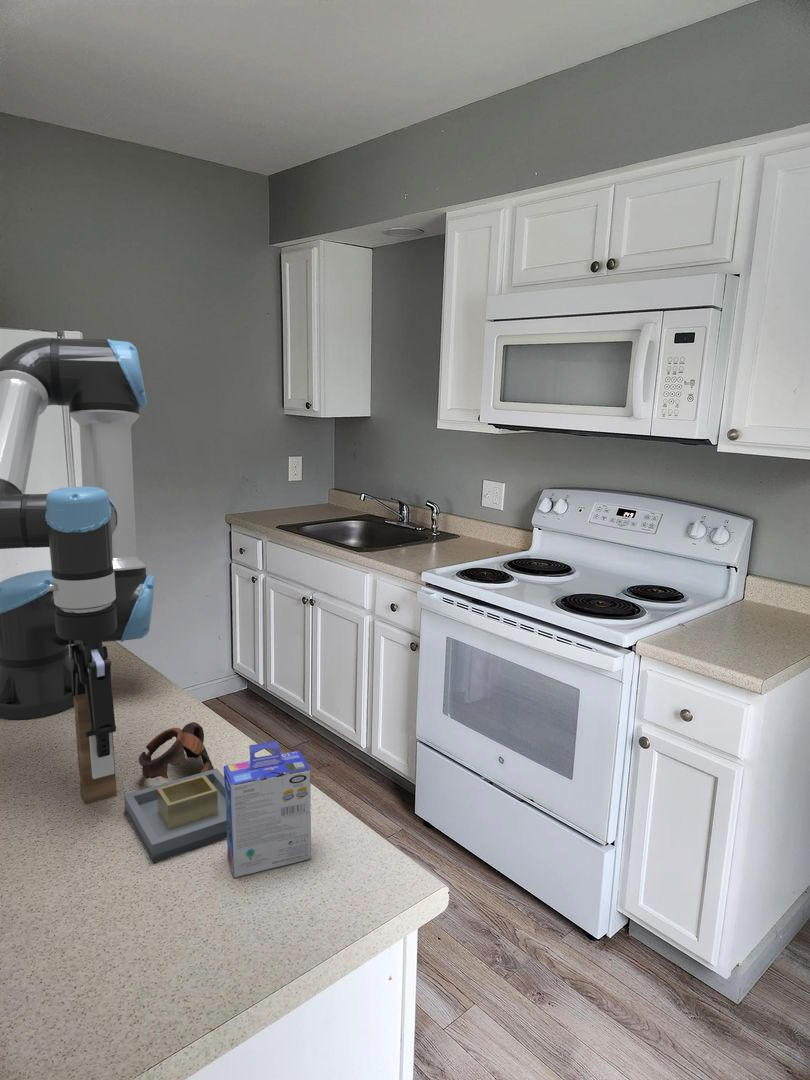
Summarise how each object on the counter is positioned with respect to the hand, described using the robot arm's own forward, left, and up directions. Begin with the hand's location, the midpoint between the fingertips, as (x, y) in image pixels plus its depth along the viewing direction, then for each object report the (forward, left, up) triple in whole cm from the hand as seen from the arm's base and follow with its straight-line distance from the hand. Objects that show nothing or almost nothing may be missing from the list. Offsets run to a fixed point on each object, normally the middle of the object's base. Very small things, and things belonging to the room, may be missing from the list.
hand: (96, 762), depth 101 cm
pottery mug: (0, +12, -5) cm, 13 cm away
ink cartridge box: (+25, +14, -5) cm, 30 cm away
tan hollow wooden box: (+13, +9, -4) cm, 16 cm away
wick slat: (0, 0, -5) cm, 5 cm away
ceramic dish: (+12, +9, -5) cm, 16 cm away
